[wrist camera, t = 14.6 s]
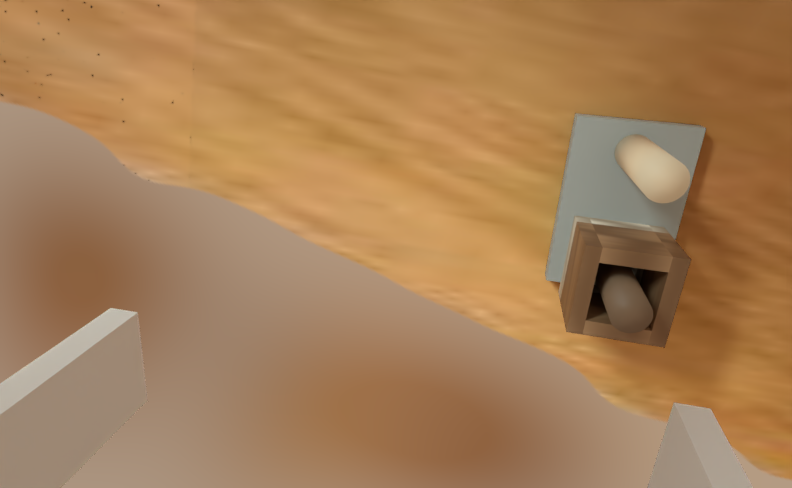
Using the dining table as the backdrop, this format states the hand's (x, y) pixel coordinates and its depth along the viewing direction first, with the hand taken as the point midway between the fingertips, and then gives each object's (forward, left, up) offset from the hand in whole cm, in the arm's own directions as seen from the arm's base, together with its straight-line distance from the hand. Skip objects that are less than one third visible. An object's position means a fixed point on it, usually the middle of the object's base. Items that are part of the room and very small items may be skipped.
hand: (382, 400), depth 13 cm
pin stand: (+11, -2, -29) cm, 31 cm away
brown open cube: (+11, -6, -28) cm, 30 cm away
